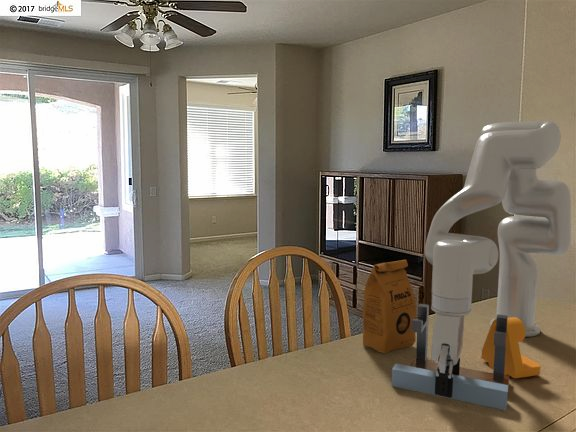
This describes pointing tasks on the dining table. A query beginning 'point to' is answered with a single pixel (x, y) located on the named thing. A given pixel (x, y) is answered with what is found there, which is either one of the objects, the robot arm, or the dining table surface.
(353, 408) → the dining table surface
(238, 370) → the dining table surface
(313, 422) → the dining table surface
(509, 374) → the bracket
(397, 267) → the coffee package
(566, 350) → the dining table surface
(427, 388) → the rail
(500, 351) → the stand
